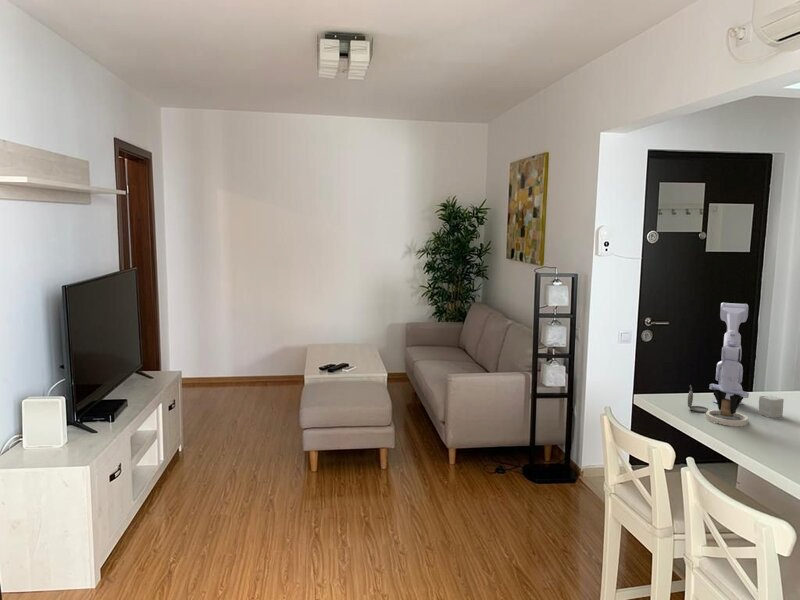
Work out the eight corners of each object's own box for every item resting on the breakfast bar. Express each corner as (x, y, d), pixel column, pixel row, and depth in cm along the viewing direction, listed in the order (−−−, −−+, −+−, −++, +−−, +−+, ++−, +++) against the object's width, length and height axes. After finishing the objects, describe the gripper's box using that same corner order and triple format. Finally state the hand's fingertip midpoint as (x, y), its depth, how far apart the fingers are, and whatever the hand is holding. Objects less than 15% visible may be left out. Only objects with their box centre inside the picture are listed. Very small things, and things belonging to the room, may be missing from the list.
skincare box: (782, 417, 232) (784, 398, 231) (770, 418, 230) (772, 400, 229) (769, 412, 238) (770, 394, 237) (757, 413, 236) (758, 395, 235)
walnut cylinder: (724, 412, 230) (726, 397, 229) (735, 415, 226) (737, 400, 225) (717, 414, 228) (719, 399, 227) (728, 417, 224) (729, 402, 223)
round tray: (720, 412, 236) (720, 407, 236) (755, 422, 224) (755, 417, 224) (698, 417, 230) (698, 412, 230) (732, 428, 218) (733, 423, 217)
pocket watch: (711, 413, 236) (713, 388, 235) (690, 412, 236) (691, 388, 235) (701, 407, 244) (703, 383, 243) (681, 406, 244) (682, 383, 243)
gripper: (705, 374, 229) (703, 407, 231) (741, 382, 217) (738, 418, 218) (716, 372, 233) (714, 405, 234) (753, 380, 220) (750, 415, 222)
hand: (726, 411), depth 227 cm, fingers closed on walnut cylinder, 4 cm apart
